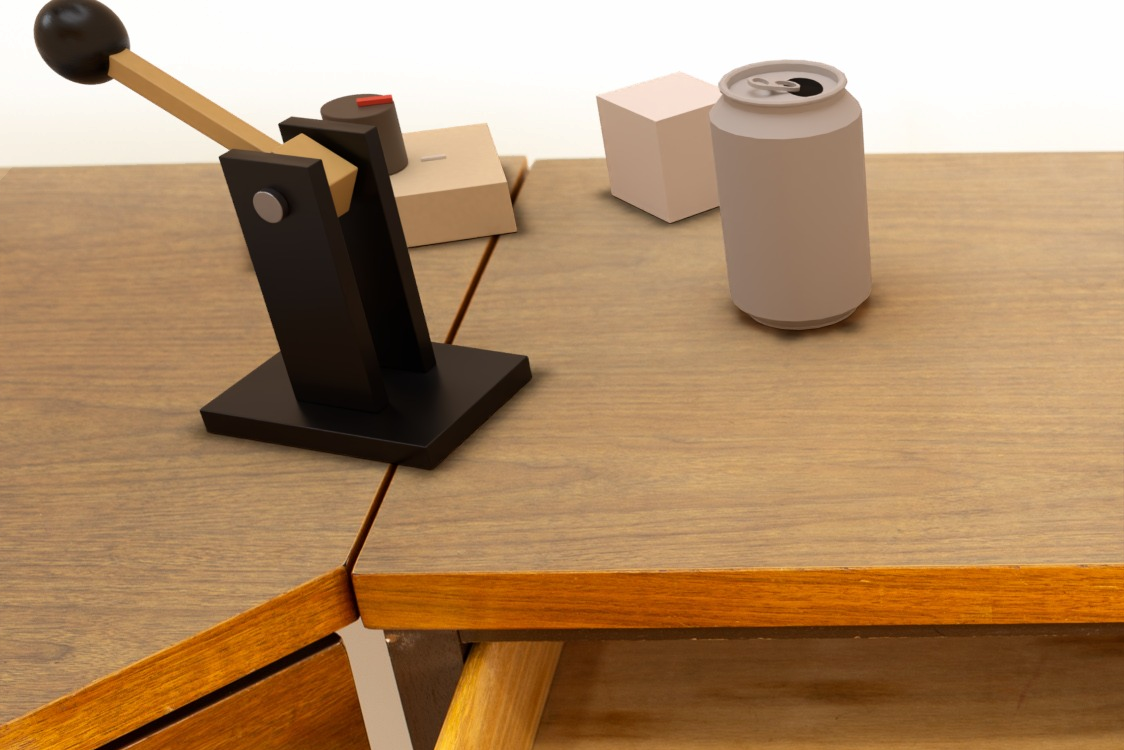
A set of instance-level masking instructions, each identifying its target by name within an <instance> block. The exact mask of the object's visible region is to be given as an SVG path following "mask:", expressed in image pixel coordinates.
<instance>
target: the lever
mask: <svg viewBox="0 0 1124 750" xmlns="http://www.w3.org/2000/svg"><path fill="white" fill-rule="evenodd" d="M33 40H34V44H35V47H36V49H37V52H38V53H39V55H40V57H41V59H42V60H43V61H44V63H45V64H46V65H47V66H48V68H50V69H51V70H52V71H53V72H54V73H56V74H57V75H58V76H60V77H61V78H63V79H65V80H67V81H69V82H72V83H75V84H80V85H87V86H96V85H102V84H105V83H108V82H111V81H113V80H115V81H117V83H119V84H122V85H123V86H124V87H126V88H128V89H130V91H133V92H134V93H136V94H138V96H140V97H142V98H144V99H146V100H147V101H149V102H150V103H152V104H154V105H155V106H157V107H158V108H160V109H162V110H164V111H165V112H167V113H168V114H170V115H171V116H173V117H175V119H178V120H179V121H181V122H183V123H184V124H185V125H187V126H189V127H191V128H192V129H194V130H196V131H198V132H199V133H201V134H202V135H204V136H205V137H207V138H208V139H211V140H212V141H214V142H215V143H217V144H218V145H220V146H222V147H223V148H225V149H226V150H228V151H229V150H231V149H242V150H250V151H258V152H266V153H275V154H283V155H291V156H299V157H308V158H316V159H322V162H323V165H324V169H325V172H326V176H327V180H328V183H329V187H330V190H331V194H332V198H333V201H334V205H335V208H336V212H337V216H338V217H340V216H341V215H343V214H344V213H346V212H347V211H349V207H350V202H351V198H352V193H353V189H354V184H355V180H356V175H357V171H358V168H357V167H356V166H354V165H353V164H351V163H349V162H348V161H346V160H344V159H343V158H341V157H340V156H338V155H336V154H335V153H333V152H332V151H330V150H328V149H327V148H325V147H324V146H322V145H320V144H319V143H317V142H316V141H314V140H312V139H311V138H309V137H308V136H306V135H304V134H299V135H298V136H296V137H294V138H292V139H291V140H289V141H287V142H285V143H280V142H278V140H276V139H274V138H272V137H270V136H269V135H267V134H266V133H264V132H263V131H261V130H259V129H257V128H256V127H254V126H253V125H251V124H250V123H248V122H246V121H244V120H243V119H242V118H240V117H238V116H237V115H235V114H233V113H232V112H230V111H228V110H227V109H225V108H223V106H221V105H219V104H218V103H216V102H214V101H213V100H211V99H209V98H207V97H206V96H205V95H203V94H201V93H200V92H198V91H197V90H195V89H193V88H191V87H190V86H188V85H187V84H185V83H183V82H181V81H180V80H179V79H177V78H175V77H174V76H172V75H171V74H169V73H167V72H165V71H164V70H162V69H161V68H159V67H158V66H156V65H155V64H153V63H151V62H150V61H148V60H146V59H145V58H143V57H142V56H139V55H138V54H136V53H135V52H133V51H132V50H131V41H130V36H129V33H128V30H127V28H126V26H125V24H124V22H123V21H122V20H121V18H120V17H119V16H118V15H117V14H116V12H114V11H113V10H112V9H111V8H110V7H109V6H107V4H104V3H103V2H101V1H99V0H50V1H48V2H47V3H45V4H44V5H43V6H42V7H41V8H40V10H39V11H38V13H37V14H36V17H35V20H34V24H33Z"/></svg>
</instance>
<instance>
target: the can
mask: <svg viewBox="0 0 1124 750" xmlns="http://www.w3.org/2000/svg"><path fill="white" fill-rule="evenodd" d="M847 84H848V78H847V77H846V74H845V72H843V71H842V70H840V69H838V68H837V67H835V66H833V65H830V64H827V63H824V62H822V61H821V62H820V61H813V60H806V59H773V60H763V61H759V62H752V63H748V64H745V65H741V66H739V67H735V68H734V69H732V70H730V71H729V72H726V73H725V74H724V75H723V76H722V77H721V78H720V80H719V81H718V83H717V86H718V87H719V90H720V93H722V95H721V97H720V98H719V99H718V101H717V102H716V103H715V105H714V106H713V107H712V109H711V110H710V112H709V120H710V129H711V137H712V146H713V154H714V163H715V171H716V180H717V188H718V197H719V205H720V206H719V213H720V221H721V228H722V237H723V239H722V240H723V246H724V254H725V264H726V271H727V280H728V289H729V295H730V300H731V302H732V303H733V304H734V306H736V307H737V308H738V309H739V310H741V311H742V312H744V313H746V314H748V315H749V316H750V317H751V318H752V319H753V320H754V321H755V322H758V323H759V324H762V325H764V326H767V327H771V328H776V329H781V330H794V331H795V330H797V331H803V330H811V329H820V328H824V327H828V326H831V325H835V324H836V323H839V322H841V321H843V320H845V319H848V318H849V317H850V316H851V315H852V314H853V313H855V312H856V310H857V308H858V307H859V306H860V305H862V303H863V302H865V301H866V300H867V299H868V298H869V296H870V294H871V292H872V288H873V279H872V278H873V277H872V262H871V245H870V228H869V227H870V226H869V212H868V211H869V210H868V192H867V174H866V157H865V140H864V121H863V108H862V106H861V104H860V101H858V99H857V98H856V97H855V96H853V95H852V93H851V92H850V91H849V90H848V89H846V86H847Z"/></svg>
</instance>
